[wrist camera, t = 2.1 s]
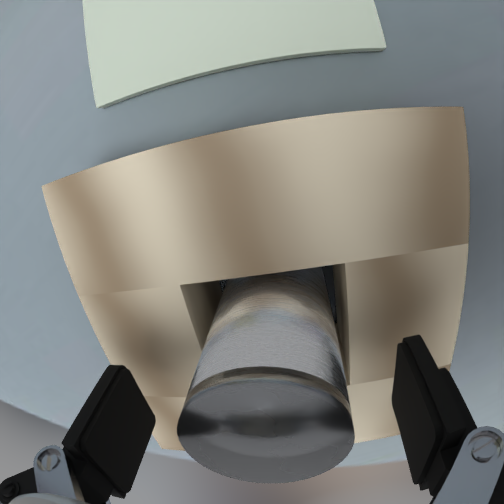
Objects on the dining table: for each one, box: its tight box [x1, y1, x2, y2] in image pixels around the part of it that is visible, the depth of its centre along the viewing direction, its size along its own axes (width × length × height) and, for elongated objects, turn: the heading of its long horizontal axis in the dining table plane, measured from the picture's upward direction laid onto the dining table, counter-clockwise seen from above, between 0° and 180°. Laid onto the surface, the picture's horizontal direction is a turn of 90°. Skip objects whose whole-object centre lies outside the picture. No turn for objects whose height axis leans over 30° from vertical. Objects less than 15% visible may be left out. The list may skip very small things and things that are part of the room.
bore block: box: [42, 107, 470, 451], centre depth 15 cm, size 16×16×5 cm
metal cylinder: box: [177, 267, 355, 483], centre depth 12 cm, size 5×5×10 cm
